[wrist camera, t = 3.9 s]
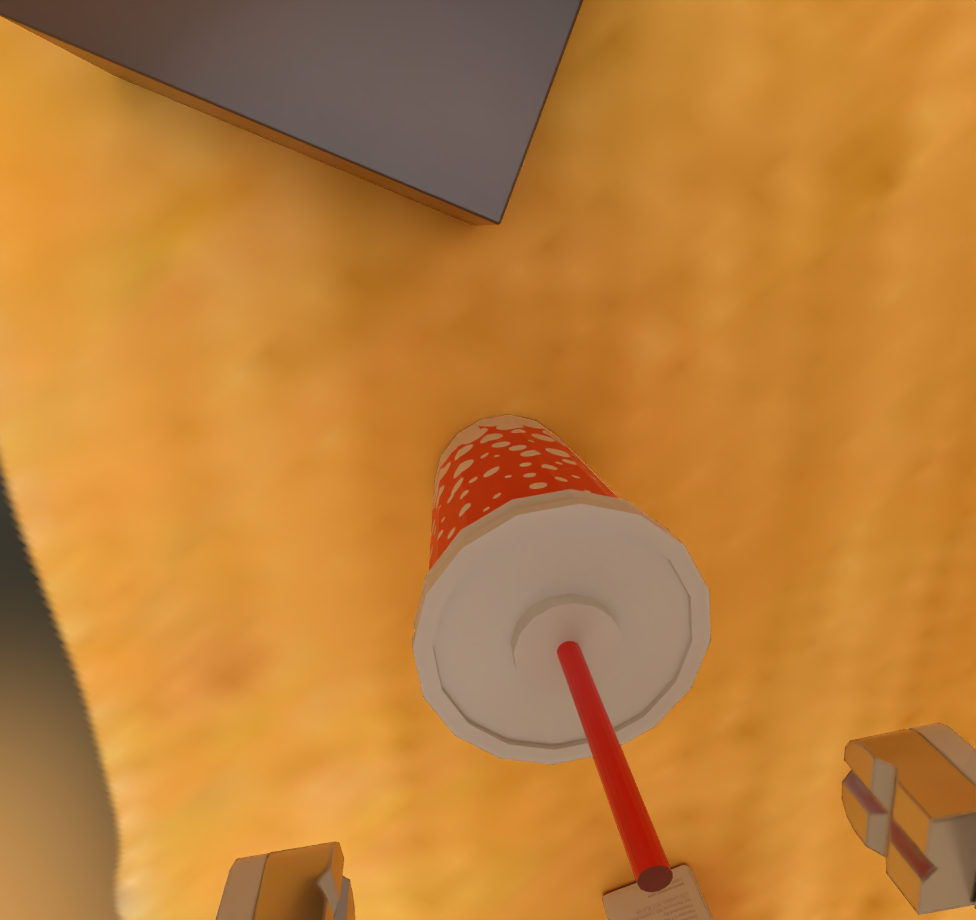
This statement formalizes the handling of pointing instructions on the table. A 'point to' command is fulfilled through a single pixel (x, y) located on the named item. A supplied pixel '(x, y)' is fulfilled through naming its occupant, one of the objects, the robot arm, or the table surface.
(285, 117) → the walnut block
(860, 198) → the table surface
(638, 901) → the cosmetic box
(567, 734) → the beverage cup
